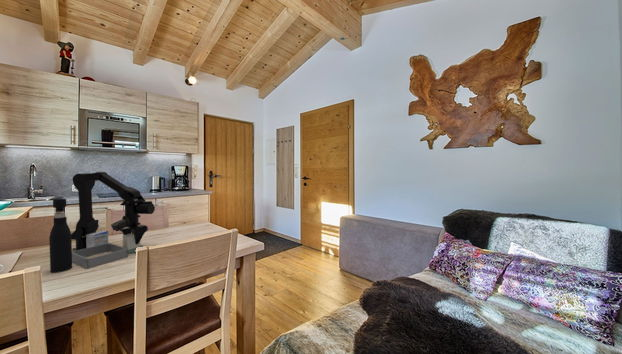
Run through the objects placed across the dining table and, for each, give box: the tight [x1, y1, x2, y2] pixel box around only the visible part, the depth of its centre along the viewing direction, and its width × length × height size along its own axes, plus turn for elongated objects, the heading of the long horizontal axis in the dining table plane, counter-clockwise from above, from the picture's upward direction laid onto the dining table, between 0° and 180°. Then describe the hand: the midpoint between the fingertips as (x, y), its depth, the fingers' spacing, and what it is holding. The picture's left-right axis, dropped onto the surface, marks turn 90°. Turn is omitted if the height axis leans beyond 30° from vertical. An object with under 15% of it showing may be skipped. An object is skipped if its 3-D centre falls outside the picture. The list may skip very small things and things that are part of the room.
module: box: [122, 234, 141, 250], centre depth 124 cm, size 4×6×7 cm
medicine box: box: [86, 230, 109, 248], centre depth 124 cm, size 8×4×9 cm, turn 175°
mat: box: [128, 244, 144, 255], centre depth 125 cm, size 11×9×1 cm
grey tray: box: [72, 242, 129, 270], centre depth 112 cm, size 17×15×4 cm
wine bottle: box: [48, 198, 73, 274], centre depth 99 cm, size 6×6×30 cm
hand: (132, 242), depth 124 cm, fingers open, 9 cm apart
